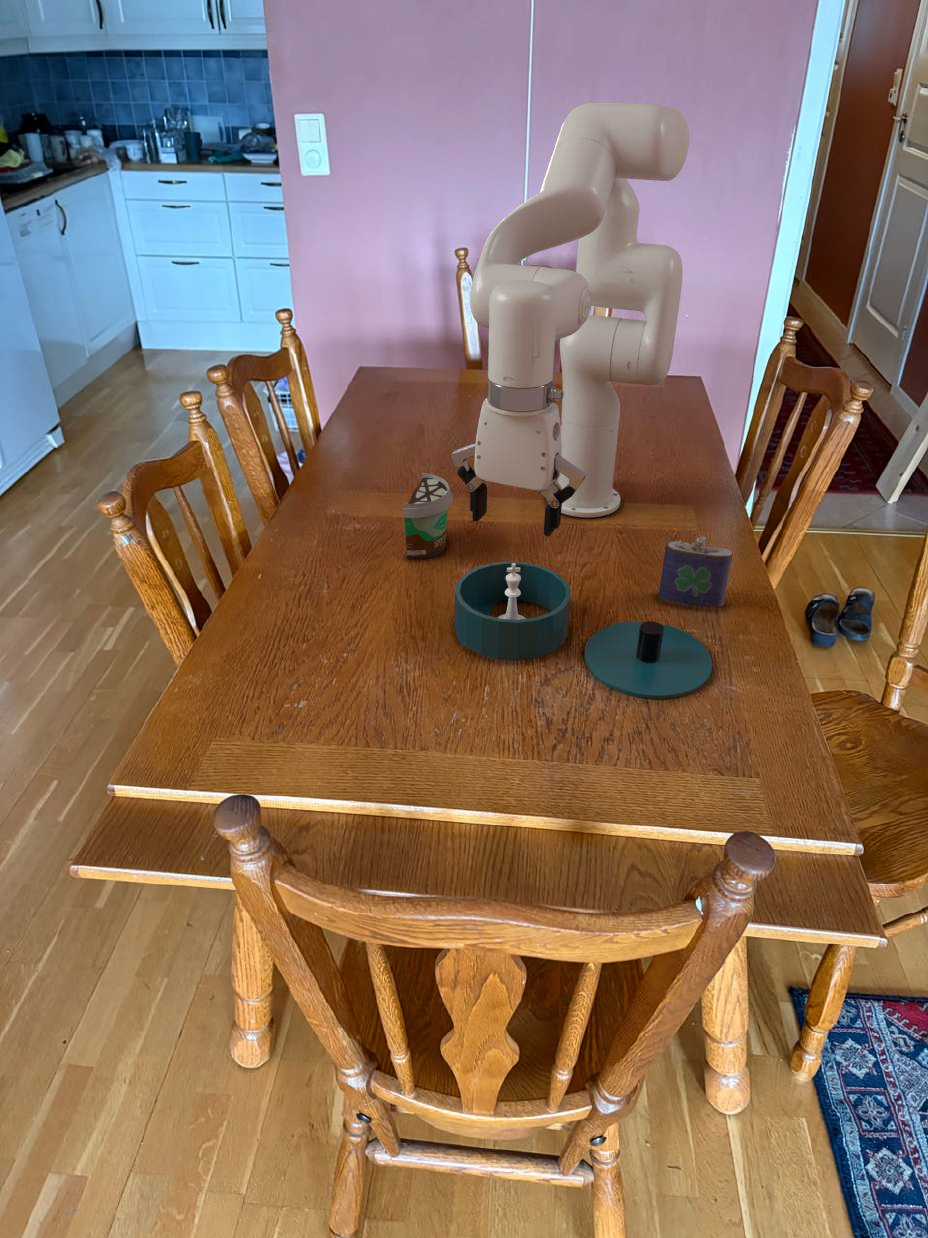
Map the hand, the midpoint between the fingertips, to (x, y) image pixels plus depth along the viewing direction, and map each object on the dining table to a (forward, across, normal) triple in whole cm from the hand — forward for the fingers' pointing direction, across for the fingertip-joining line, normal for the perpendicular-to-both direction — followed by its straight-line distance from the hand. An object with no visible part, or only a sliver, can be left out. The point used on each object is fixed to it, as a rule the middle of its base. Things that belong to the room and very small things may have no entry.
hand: (514, 524), depth 117 cm
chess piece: (+16, 0, 0) cm, 16 cm away
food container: (+16, +20, -18) cm, 31 cm away
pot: (+16, 0, 0) cm, 17 cm away
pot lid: (+16, -19, 0) cm, 25 cm away
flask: (+16, -21, -18) cm, 32 cm away
